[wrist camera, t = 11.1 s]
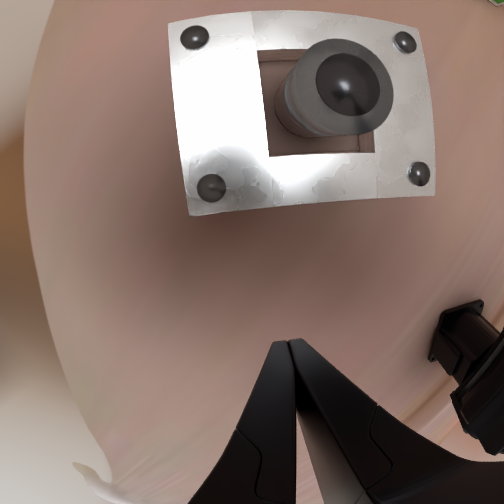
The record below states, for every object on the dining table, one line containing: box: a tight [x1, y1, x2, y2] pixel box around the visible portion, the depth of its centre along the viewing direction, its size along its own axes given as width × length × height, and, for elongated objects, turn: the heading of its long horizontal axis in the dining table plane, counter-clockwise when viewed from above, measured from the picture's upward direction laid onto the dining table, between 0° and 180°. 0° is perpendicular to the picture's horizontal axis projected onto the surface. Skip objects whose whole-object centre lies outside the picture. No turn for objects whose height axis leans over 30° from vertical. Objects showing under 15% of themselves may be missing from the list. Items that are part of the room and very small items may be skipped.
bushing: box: [274, 38, 394, 138], centre depth 13 cm, size 4×4×7 cm
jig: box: [168, 10, 435, 217], centre depth 15 cm, size 16×12×3 cm
